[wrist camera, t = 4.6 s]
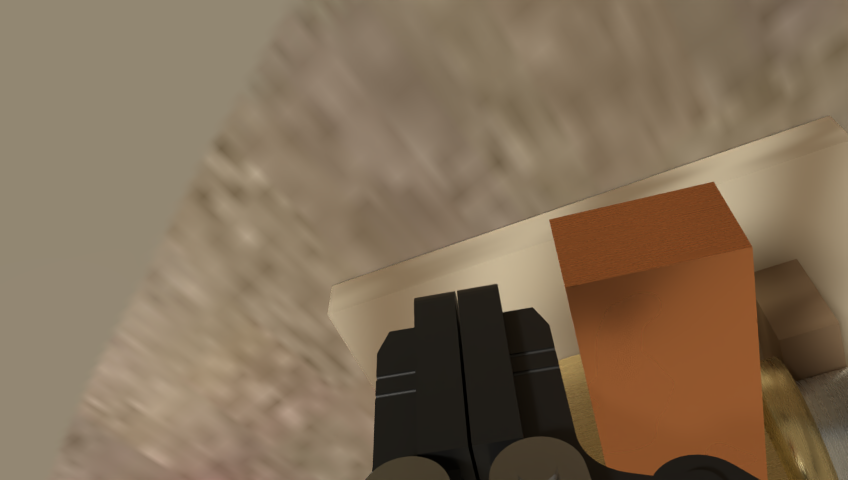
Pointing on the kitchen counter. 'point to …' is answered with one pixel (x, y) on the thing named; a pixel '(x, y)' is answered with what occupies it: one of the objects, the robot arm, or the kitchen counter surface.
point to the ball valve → (783, 420)
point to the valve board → (730, 171)
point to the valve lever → (666, 328)
